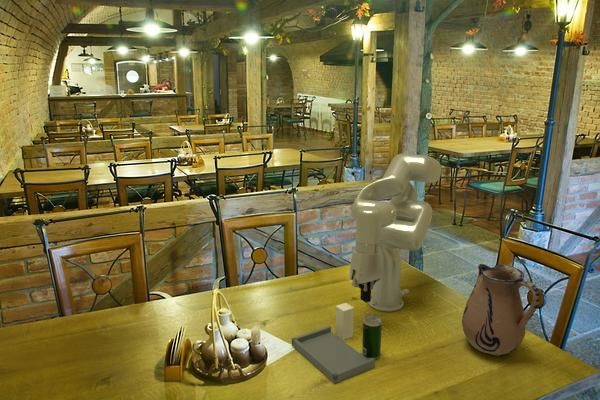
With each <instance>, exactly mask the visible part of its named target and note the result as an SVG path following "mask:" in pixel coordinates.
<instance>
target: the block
mask: <svg viewBox="0 0 600 400" xmlns="http://www.w3.org/2000/svg"><path fill="white" fill-rule="evenodd" d="M354 317H355V307H354V306H352V305H350V304H349V303H348V302H345V303H341V304H338V305H335V330H334V334H335V335H336V336H337V337H339V338H340V339H341V340H343V341H345V340H348V339H351V338H353V337H354V320H355V318H354Z"/></svg>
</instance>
